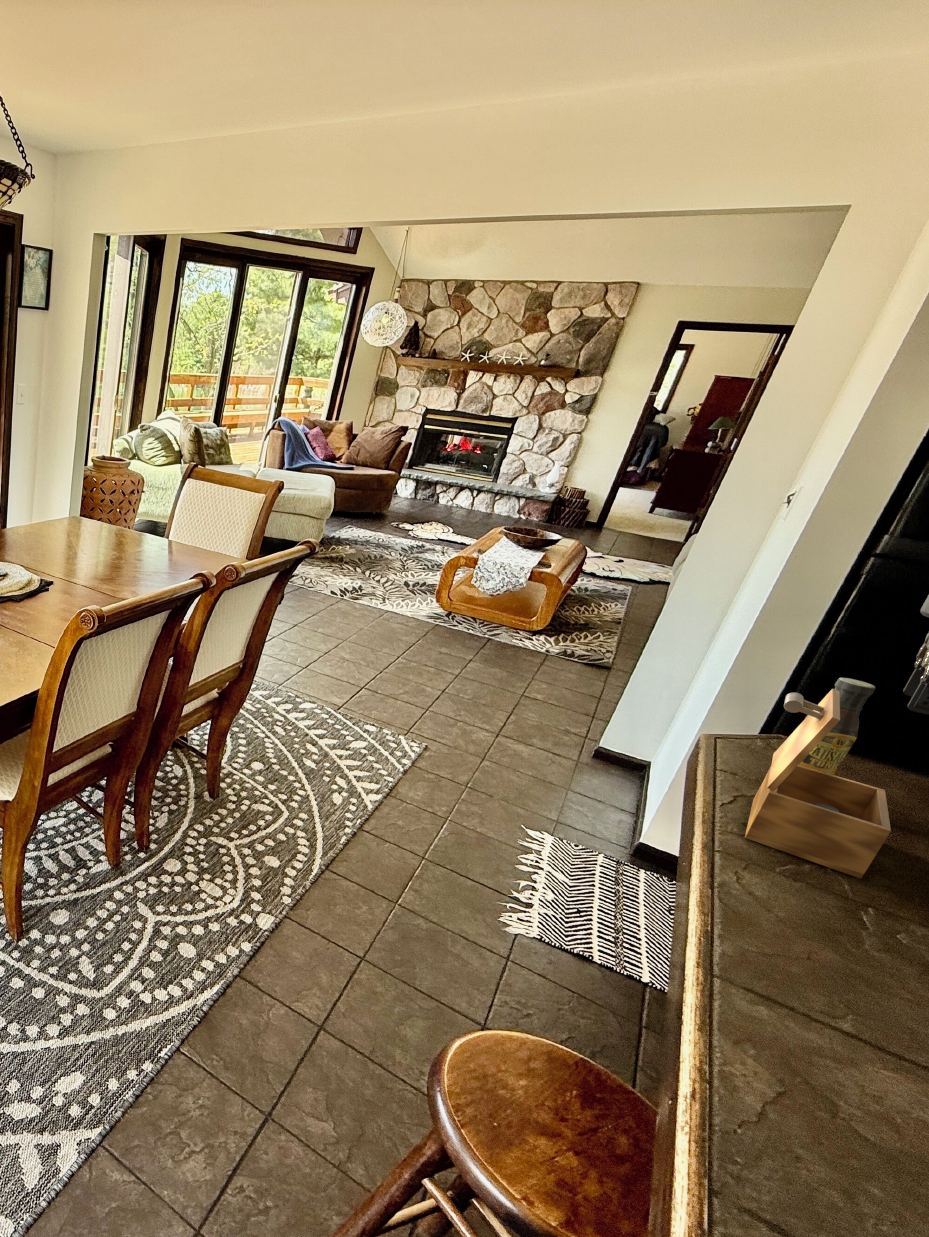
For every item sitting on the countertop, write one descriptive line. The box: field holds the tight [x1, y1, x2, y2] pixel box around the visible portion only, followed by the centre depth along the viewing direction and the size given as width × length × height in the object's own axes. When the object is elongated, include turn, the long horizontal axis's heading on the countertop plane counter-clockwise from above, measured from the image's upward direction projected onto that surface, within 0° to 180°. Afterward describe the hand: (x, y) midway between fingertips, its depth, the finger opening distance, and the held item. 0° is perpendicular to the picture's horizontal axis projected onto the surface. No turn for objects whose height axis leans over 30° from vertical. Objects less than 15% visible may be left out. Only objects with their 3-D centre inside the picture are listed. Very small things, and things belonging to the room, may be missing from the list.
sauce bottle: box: [799, 677, 876, 775], centre depth 112 cm, size 7×6×20 cm
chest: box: [744, 765, 892, 880], centre depth 101 cm, size 12×17×8 cm
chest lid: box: [767, 688, 840, 791], centre depth 101 cm, size 12×17×5 cm
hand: (916, 704), depth 92 cm, fingers open, 8 cm apart
